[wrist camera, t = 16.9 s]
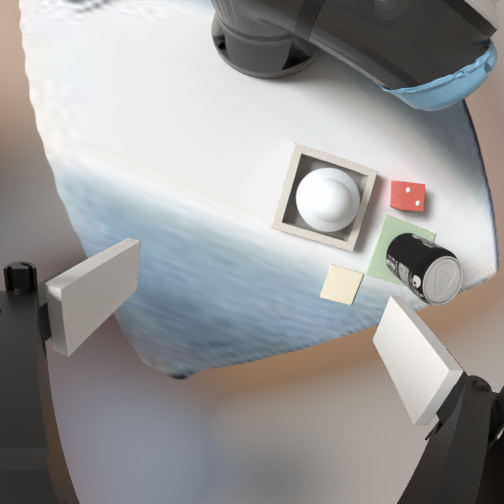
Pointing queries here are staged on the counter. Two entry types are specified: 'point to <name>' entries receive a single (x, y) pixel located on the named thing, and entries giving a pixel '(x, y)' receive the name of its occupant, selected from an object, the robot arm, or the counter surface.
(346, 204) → the dome
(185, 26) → the counter surface
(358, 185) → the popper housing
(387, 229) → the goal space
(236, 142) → the counter surface
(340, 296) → the track space
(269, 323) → the counter surface
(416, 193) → the red die
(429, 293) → the beverage can
